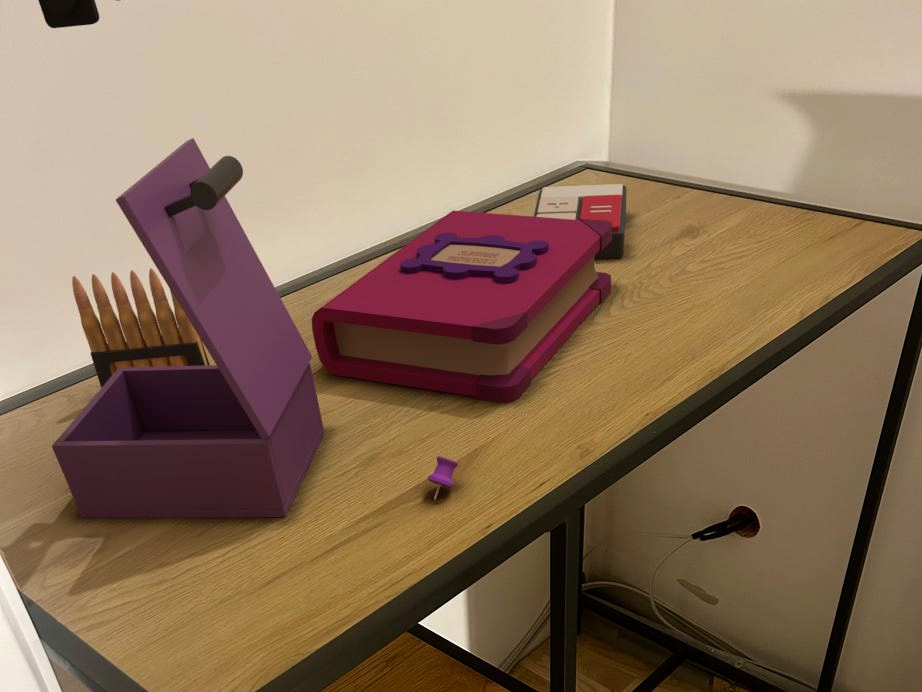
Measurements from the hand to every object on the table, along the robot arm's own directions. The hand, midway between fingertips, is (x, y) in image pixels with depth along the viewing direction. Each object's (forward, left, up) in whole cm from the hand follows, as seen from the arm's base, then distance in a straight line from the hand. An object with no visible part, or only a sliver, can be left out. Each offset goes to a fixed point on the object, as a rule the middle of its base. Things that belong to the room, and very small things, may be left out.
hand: (107, 10), depth 60 cm
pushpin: (+19, -4, -34) cm, 39 cm away
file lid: (+3, -1, -18) cm, 18 cm away
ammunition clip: (-12, +14, -34) cm, 38 cm away
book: (+18, +27, -34) cm, 47 cm away
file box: (-2, -1, -33) cm, 33 cm away
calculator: (+28, +53, -34) cm, 69 cm away
